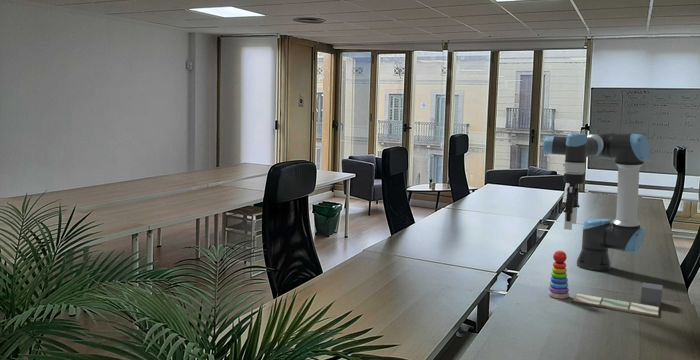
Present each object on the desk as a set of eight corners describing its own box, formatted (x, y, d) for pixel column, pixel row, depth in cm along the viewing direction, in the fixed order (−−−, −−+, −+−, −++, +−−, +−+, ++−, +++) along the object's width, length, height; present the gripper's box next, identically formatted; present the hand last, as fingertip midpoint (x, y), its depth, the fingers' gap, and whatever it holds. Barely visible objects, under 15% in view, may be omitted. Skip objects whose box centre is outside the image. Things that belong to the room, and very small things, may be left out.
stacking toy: (564, 293, 239) (567, 248, 236) (572, 299, 231) (575, 253, 228) (545, 292, 238) (548, 248, 236) (552, 299, 230) (555, 253, 228)
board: (576, 294, 236) (576, 292, 236) (659, 308, 222) (659, 306, 222) (572, 302, 227) (572, 300, 227) (658, 317, 213) (658, 315, 212)
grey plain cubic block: (641, 299, 233) (642, 282, 232) (661, 302, 230) (662, 285, 229) (640, 304, 227) (641, 287, 226) (660, 307, 224) (662, 290, 223)
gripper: (568, 169, 240) (564, 220, 243) (559, 175, 218) (555, 230, 221) (587, 171, 237) (584, 222, 239) (580, 176, 215) (576, 233, 217)
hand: (570, 226), depth 230 cm, fingers open, 13 cm apart
